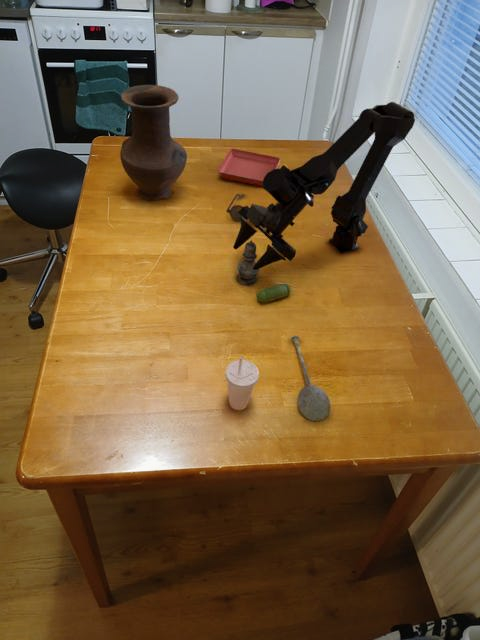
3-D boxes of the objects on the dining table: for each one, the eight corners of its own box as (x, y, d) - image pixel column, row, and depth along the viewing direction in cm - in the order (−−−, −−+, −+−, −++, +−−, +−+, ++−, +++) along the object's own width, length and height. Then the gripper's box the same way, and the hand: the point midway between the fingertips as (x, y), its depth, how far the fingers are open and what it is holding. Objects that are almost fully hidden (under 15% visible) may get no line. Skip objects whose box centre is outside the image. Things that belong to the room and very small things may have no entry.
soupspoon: (299, 424, 97) (331, 423, 98) (303, 415, 94) (335, 414, 96) (280, 340, 112) (308, 339, 113) (283, 330, 109) (311, 330, 110)
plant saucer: (279, 165, 171) (281, 156, 168) (270, 191, 158) (271, 181, 156) (229, 156, 173) (230, 147, 170) (216, 180, 160) (217, 171, 158)
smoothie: (221, 389, 101) (225, 344, 91) (252, 389, 101) (259, 344, 91) (223, 416, 96) (227, 371, 86) (255, 415, 97) (263, 371, 87)
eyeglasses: (225, 219, 145) (226, 204, 141) (240, 194, 155) (241, 180, 152) (273, 230, 143) (275, 215, 139) (284, 205, 153) (286, 190, 149)
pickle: (285, 289, 125) (287, 279, 122) (292, 297, 123) (294, 287, 120) (253, 298, 121) (255, 288, 119) (260, 306, 119) (261, 296, 117)
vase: (111, 189, 152) (99, 89, 130) (162, 171, 162) (159, 76, 140) (147, 217, 142) (140, 114, 121) (199, 197, 152) (201, 99, 131)
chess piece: (247, 289, 123) (252, 250, 115) (231, 277, 126) (234, 239, 118) (262, 278, 127) (268, 241, 118) (246, 268, 129) (250, 230, 121)
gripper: (247, 175, 116) (206, 225, 120) (293, 215, 106) (246, 268, 109) (271, 197, 125) (231, 243, 129) (315, 235, 115) (271, 285, 118)
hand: (243, 258), depth 121 cm, fingers open, 9 cm apart
